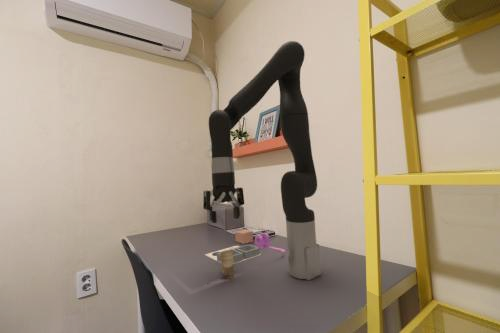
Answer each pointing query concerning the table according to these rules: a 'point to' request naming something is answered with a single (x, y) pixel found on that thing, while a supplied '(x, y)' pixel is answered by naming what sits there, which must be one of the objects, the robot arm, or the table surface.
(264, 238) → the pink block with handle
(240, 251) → the board
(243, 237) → the orange cube
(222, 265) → the peg
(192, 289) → the table surface
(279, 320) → the table surface
